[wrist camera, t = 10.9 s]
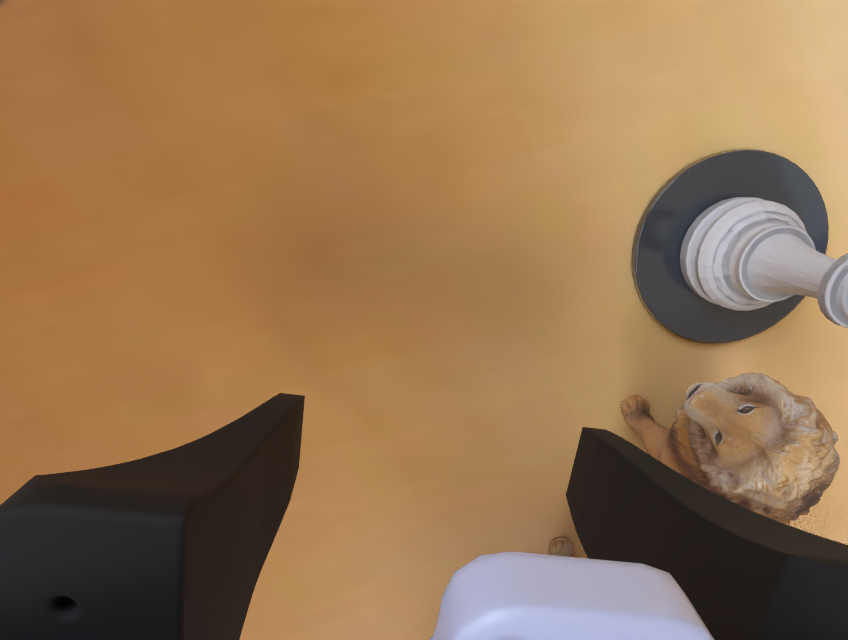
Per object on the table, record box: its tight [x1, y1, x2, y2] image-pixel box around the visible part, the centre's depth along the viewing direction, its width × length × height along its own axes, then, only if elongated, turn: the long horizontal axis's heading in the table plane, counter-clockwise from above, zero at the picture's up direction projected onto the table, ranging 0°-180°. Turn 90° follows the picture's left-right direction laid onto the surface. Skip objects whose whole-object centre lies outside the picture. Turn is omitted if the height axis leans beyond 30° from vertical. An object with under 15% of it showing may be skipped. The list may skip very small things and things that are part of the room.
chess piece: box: [680, 197, 848, 328], centre depth 17 cm, size 4×4×10 cm
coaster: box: [632, 150, 828, 343], centre depth 22 cm, size 8×8×1 cm
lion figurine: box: [549, 373, 840, 558], centre depth 21 cm, size 15×5×9 cm, turn 168°
